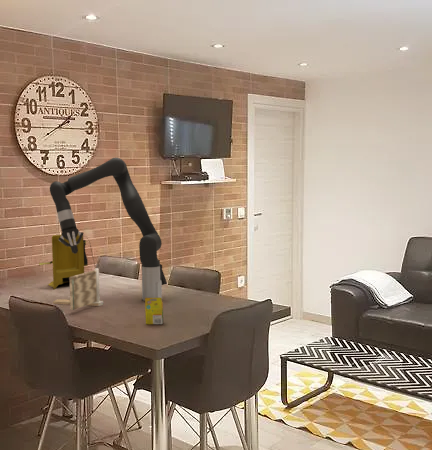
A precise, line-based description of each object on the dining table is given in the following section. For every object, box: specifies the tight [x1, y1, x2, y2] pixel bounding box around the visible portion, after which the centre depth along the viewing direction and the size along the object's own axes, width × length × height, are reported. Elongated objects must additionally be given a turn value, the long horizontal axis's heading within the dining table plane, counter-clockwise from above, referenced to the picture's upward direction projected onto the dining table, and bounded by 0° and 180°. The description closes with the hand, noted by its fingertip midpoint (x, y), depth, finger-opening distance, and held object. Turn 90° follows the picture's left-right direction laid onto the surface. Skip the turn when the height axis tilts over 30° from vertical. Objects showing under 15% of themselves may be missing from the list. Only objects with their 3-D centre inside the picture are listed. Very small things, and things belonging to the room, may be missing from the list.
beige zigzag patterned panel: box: [69, 269, 97, 311], centre depth 280 cm, size 18×2×15 cm, turn 155°
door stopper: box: [160, 263, 168, 286], centre depth 339 cm, size 9×6×12 cm, turn 124°
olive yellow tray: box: [38, 234, 96, 290], centre depth 338 cm, size 31×14×30 cm, turn 125°
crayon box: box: [144, 297, 164, 325], centre depth 255 cm, size 7×3×12 cm, turn 88°
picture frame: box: [52, 267, 104, 307], centre depth 292 cm, size 25×5×18 cm, turn 76°
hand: (75, 253), depth 295 cm, fingers closed
